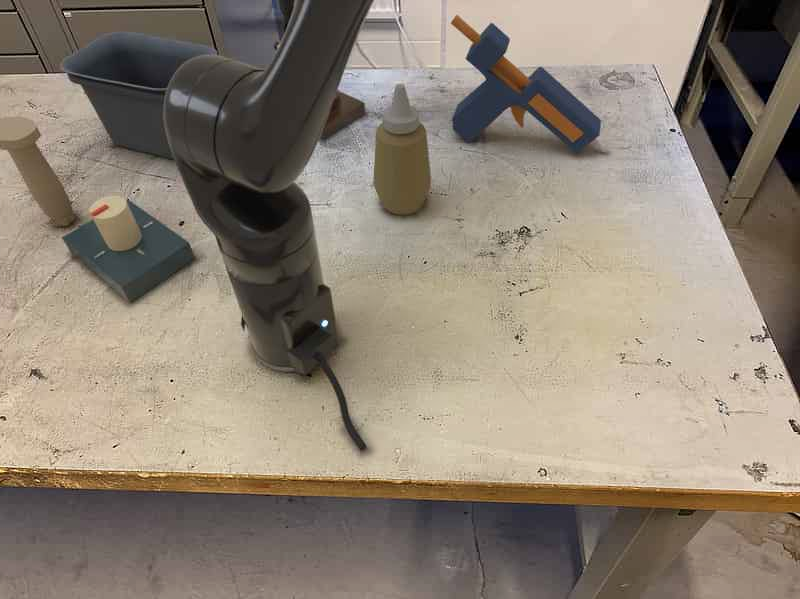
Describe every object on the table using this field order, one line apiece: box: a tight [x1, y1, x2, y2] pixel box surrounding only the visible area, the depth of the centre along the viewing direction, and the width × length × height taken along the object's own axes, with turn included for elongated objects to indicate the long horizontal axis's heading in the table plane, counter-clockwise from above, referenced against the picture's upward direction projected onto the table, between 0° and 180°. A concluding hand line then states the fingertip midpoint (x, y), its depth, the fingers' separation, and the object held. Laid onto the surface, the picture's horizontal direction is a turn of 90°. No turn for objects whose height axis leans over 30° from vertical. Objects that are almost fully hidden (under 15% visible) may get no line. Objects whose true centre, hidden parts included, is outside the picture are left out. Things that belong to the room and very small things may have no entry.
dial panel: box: [61, 199, 196, 304], centre depth 78 cm, size 14×10×3 cm
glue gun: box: [450, 14, 607, 154], centre depth 92 cm, size 6×31×15 cm
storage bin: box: [59, 31, 219, 160], centre depth 92 cm, size 21×16×14 cm
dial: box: [89, 195, 142, 251], centre depth 75 cm, size 4×4×6 cm
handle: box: [0, 116, 77, 228], centre depth 79 cm, size 5×6×15 cm
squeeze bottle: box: [372, 83, 432, 216], centre depth 79 cm, size 8×8×18 cm
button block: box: [319, 89, 366, 141], centre depth 100 cm, size 12×10×4 cm
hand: (316, 87), depth 98 cm, fingers closed
